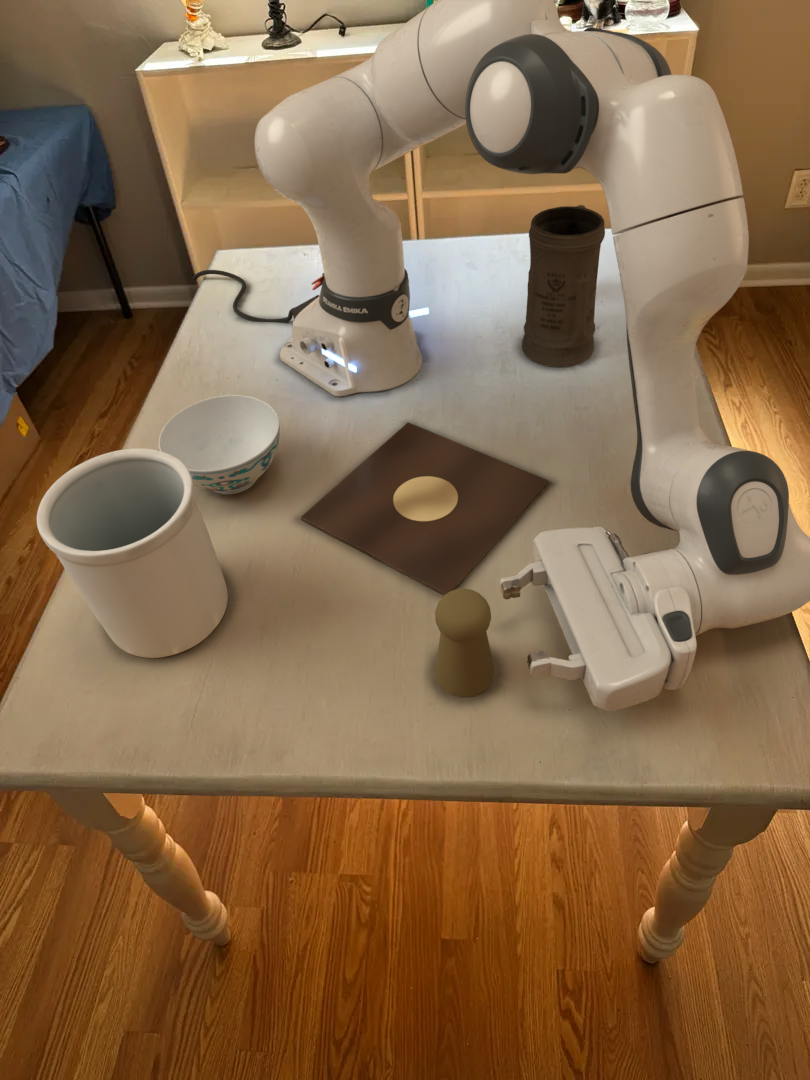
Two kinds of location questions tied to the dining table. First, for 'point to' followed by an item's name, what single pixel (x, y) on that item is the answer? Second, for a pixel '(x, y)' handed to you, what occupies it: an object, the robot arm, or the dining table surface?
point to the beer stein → (562, 285)
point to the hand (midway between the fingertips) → (514, 625)
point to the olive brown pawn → (463, 643)
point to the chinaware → (223, 441)
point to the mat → (426, 506)
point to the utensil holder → (137, 549)
